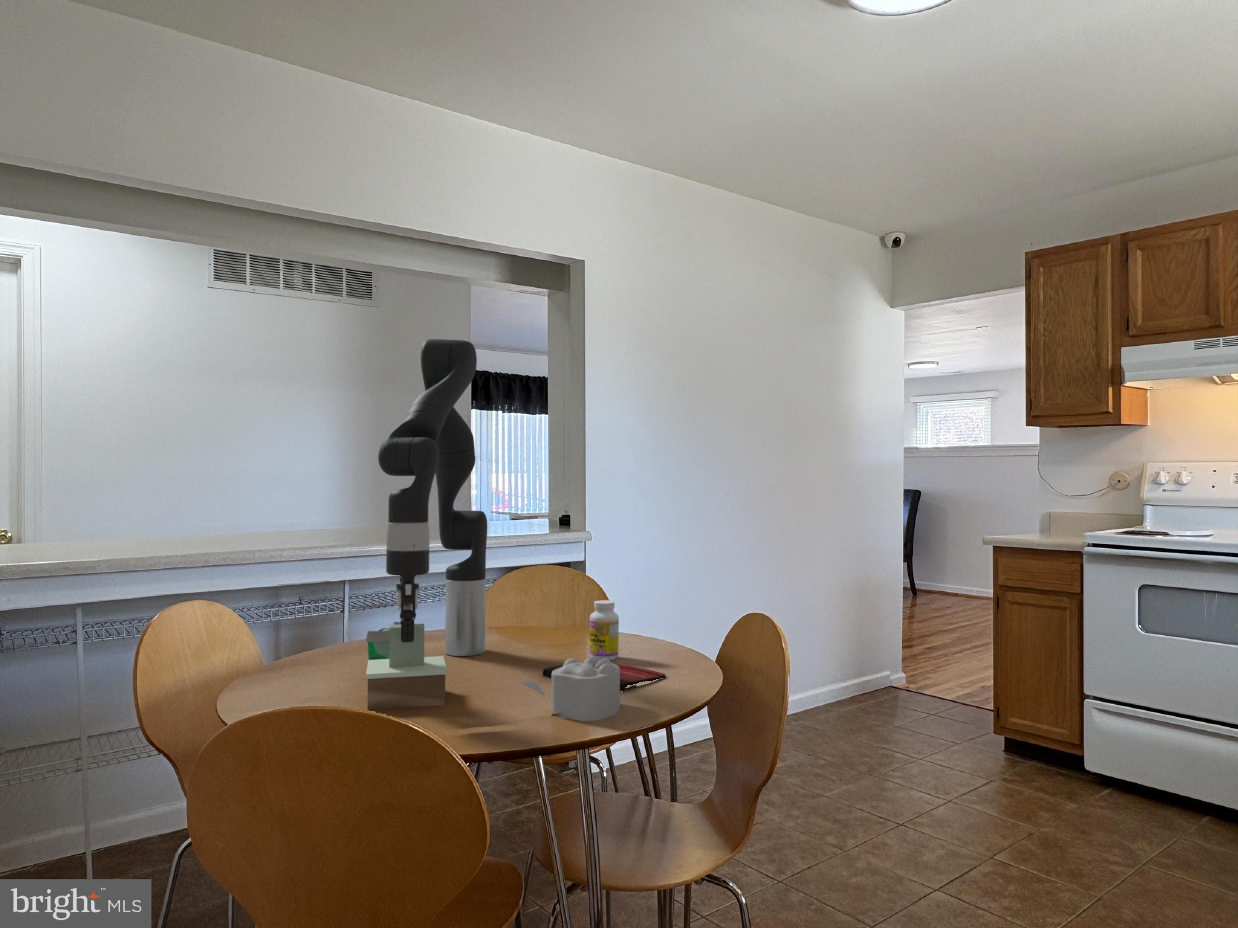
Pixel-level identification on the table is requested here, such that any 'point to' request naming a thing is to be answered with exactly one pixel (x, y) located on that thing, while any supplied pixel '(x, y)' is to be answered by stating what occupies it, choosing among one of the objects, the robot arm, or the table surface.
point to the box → (406, 692)
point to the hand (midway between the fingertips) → (406, 637)
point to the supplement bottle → (604, 631)
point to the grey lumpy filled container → (586, 689)
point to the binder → (623, 675)
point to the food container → (379, 643)
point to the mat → (533, 686)
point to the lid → (406, 658)
